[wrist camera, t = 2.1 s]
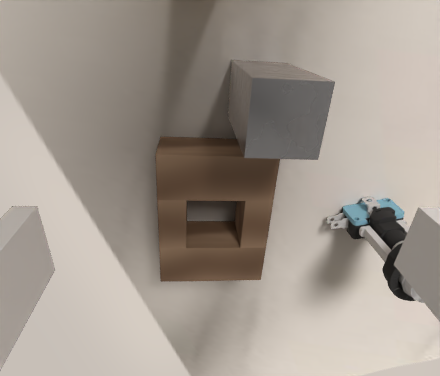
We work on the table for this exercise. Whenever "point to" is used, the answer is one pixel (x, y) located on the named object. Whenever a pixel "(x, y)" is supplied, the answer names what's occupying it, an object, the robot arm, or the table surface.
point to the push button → (380, 237)
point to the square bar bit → (278, 109)
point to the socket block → (212, 191)
